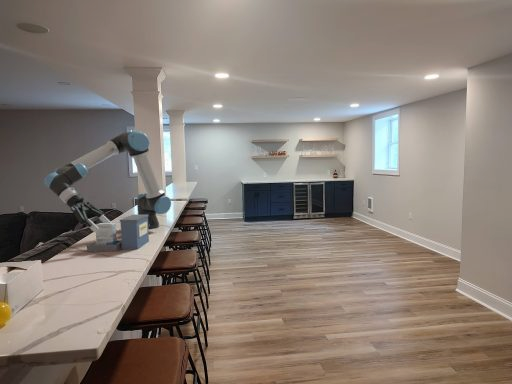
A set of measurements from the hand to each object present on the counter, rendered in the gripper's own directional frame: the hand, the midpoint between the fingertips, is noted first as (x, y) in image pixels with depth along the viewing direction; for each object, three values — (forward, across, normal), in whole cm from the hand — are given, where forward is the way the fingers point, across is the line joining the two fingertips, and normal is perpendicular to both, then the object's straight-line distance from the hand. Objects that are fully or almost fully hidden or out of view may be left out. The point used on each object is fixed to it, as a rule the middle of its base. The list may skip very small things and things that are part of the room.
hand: (103, 227), depth 160 cm
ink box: (+8, 0, +6) cm, 10 cm away
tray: (+8, 0, +7) cm, 11 cm away
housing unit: (+17, +6, -2) cm, 18 cm away
